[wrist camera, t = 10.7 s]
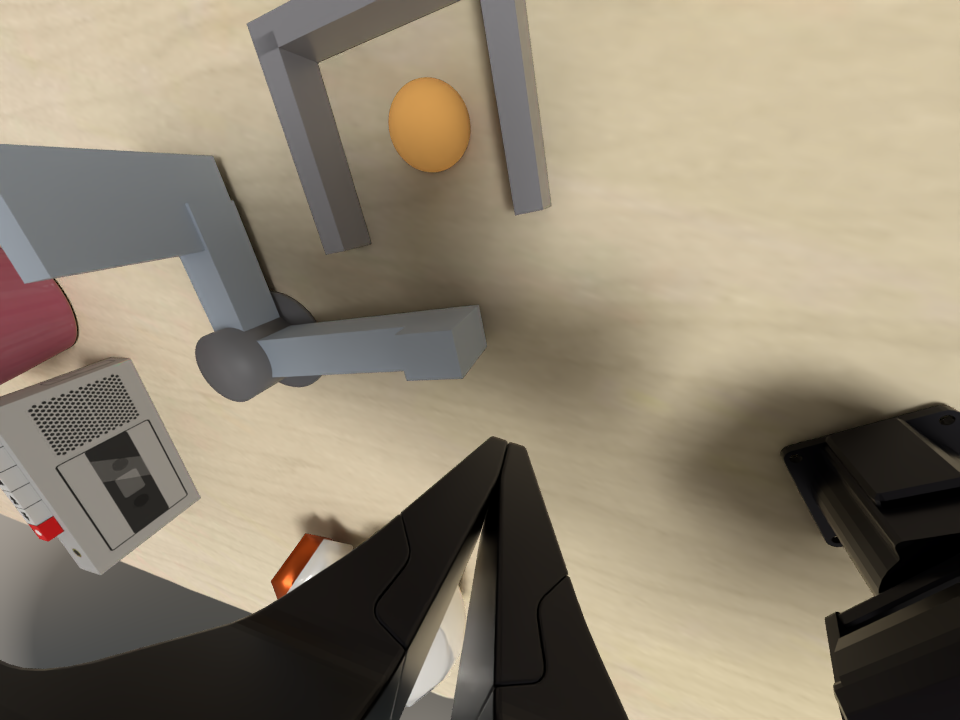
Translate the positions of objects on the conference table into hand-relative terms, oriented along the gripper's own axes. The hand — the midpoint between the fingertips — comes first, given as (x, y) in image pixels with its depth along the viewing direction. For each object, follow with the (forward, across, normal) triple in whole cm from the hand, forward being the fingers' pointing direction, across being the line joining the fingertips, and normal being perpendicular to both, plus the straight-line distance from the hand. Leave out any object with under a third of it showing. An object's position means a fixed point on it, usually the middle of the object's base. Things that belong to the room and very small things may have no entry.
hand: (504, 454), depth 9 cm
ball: (+11, +7, -6) cm, 15 cm away
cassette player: (+15, +31, +24) cm, 42 cm away
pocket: (+13, +8, -6) cm, 17 cm away
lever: (+13, +13, +2) cm, 18 cm away
